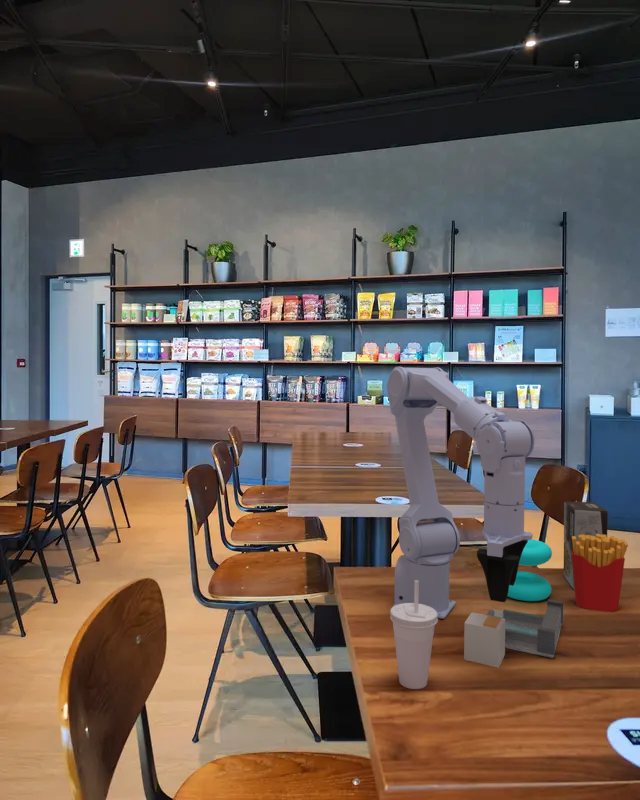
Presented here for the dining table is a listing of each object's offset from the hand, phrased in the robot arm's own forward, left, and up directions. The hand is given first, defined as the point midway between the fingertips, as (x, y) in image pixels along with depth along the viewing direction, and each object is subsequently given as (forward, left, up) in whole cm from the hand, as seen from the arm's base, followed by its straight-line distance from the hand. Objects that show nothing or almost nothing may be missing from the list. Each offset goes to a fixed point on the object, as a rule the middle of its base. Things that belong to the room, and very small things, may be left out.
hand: (502, 591), depth 84 cm
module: (-2, -2, -10) cm, 10 cm away
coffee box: (+9, +40, -10) cm, 42 cm away
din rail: (+1, +9, -10) cm, 13 cm away
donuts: (-1, +28, -10) cm, 30 cm away
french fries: (+12, +28, -10) cm, 32 cm away
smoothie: (-9, -14, -10) cm, 19 cm away
